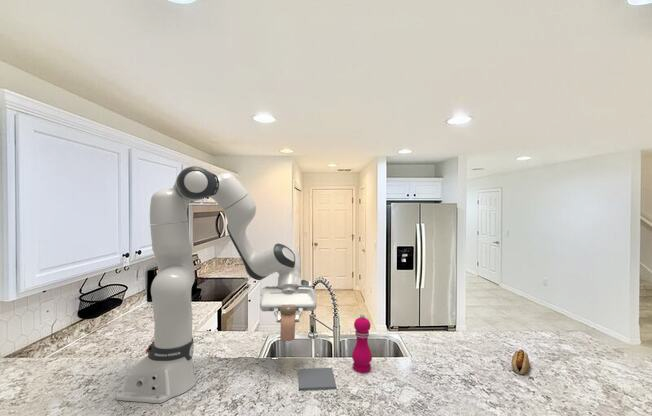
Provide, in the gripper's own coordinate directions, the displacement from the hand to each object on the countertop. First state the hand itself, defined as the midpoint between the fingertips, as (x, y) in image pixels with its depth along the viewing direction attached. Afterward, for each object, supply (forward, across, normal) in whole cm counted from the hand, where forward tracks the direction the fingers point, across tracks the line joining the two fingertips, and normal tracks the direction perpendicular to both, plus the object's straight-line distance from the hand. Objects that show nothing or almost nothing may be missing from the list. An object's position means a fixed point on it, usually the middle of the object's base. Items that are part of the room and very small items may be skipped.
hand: (287, 321), depth 104 cm
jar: (+4, 0, +5) cm, 6 cm away
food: (+13, +87, +13) cm, 89 cm away
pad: (+15, +10, +12) cm, 22 cm away
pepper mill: (+11, +27, +16) cm, 33 cm away
